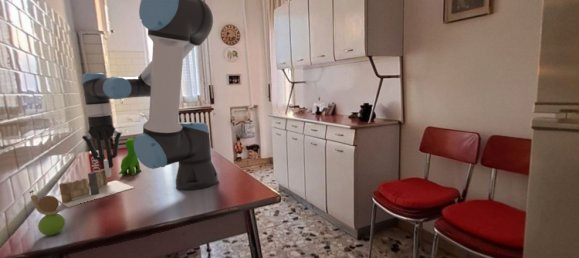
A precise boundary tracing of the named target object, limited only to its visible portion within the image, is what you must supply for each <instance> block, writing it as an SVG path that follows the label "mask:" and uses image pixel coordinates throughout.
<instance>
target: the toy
mask: <svg viewBox="0 0 579 258" xmlns="http://www.w3.org/2000/svg"><path fill="white" fill-rule="evenodd" d="M134 140H135V138H133V137H132V138H131V137H130V138H128V139H127V140H126V141H125V148H126V150H127V154H126V155H125V156H124V157H123V158H122V160H121V164H120V169H121V170H120V171H119V173H118V174H119V175H122V176H126V175H128V174H129V173H130V176H135V175H136V174H137V173H140V172H142V170H141V168H140V167H141V166H140V161H139V159H138V158H137V156H136V153H135V150H134Z"/></svg>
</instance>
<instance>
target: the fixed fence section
mask: <svg viewBox="0 0 579 258" xmlns="http://www.w3.org/2000/svg"><path fill="white" fill-rule="evenodd" d="M58 186H59V191H60V195H61V198H62V203H68V202H71V201H72V199H75V198H79V197H82V196H86V195H90V192H89V187H90V191H91V195H96V194H99V189H98V183H97V176H96V172H92V173H91V172H89V173H87V178H81V179H79V180H78V179H77V180H74V181H65V182H61V183H59V184H58ZM62 203H61V204H62Z"/></svg>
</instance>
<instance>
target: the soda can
mask: <svg viewBox="0 0 579 258" xmlns="http://www.w3.org/2000/svg"><path fill="white" fill-rule="evenodd" d="M96 151H97V153H98V155H99V152H98V149H96ZM88 162H89V166H90V167H89V168H90V173H92V172H96V173H98V170H103V169H102V168H101V162H100V160H95V159H94V158H93V156H92V153H91V151H89V153H88Z"/></svg>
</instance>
